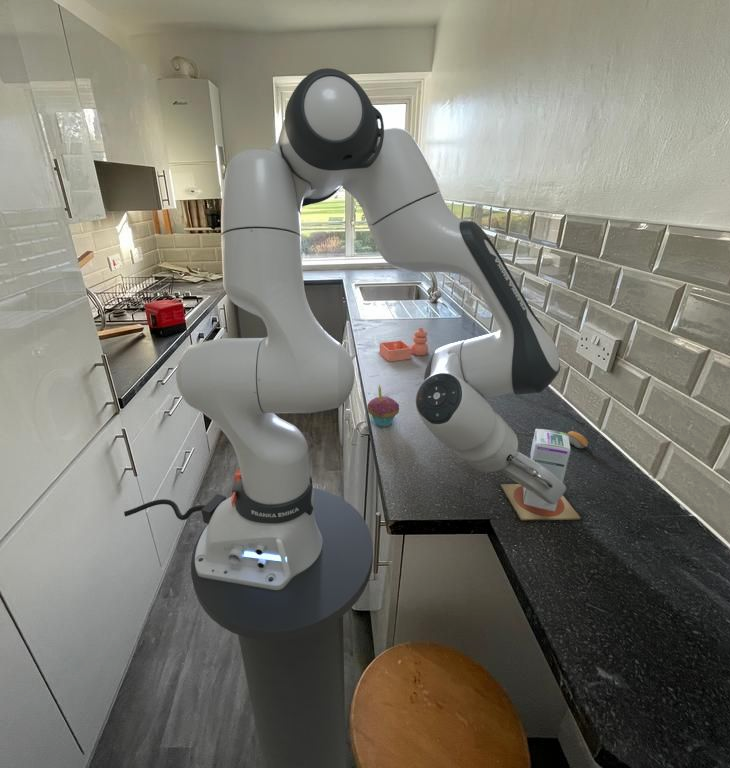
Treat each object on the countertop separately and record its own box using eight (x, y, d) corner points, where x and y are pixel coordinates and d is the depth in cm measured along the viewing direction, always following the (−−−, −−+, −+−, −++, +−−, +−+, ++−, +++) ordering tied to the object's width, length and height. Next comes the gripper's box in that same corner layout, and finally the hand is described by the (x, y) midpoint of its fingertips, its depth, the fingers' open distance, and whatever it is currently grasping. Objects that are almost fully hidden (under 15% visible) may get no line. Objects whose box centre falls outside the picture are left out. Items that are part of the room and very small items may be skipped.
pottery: (388, 361, 149) (389, 336, 145) (379, 353, 158) (380, 329, 153) (432, 355, 153) (434, 331, 149) (421, 347, 161) (423, 324, 157)
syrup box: (556, 512, 76) (573, 449, 70) (521, 504, 78) (535, 442, 72) (554, 494, 81) (570, 432, 75) (521, 486, 83) (535, 427, 77)
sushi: (580, 451, 94) (583, 441, 93) (559, 437, 100) (562, 427, 98) (590, 450, 94) (593, 439, 93) (568, 436, 100) (571, 425, 99)
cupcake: (386, 433, 104) (388, 392, 99) (360, 423, 110) (360, 383, 104) (404, 420, 110) (406, 381, 105) (378, 411, 115) (380, 373, 110)
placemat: (520, 520, 75) (521, 518, 75) (500, 485, 84) (500, 483, 84) (580, 519, 75) (581, 517, 75) (553, 484, 84) (553, 483, 84)
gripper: (558, 460, 55) (586, 494, 63) (452, 402, 72) (485, 434, 80) (530, 496, 55) (561, 525, 63) (431, 429, 72) (465, 459, 80)
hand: (518, 474), depth 72 cm, fingers open, 8 cm apart
